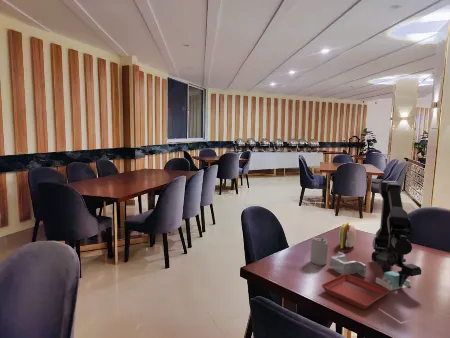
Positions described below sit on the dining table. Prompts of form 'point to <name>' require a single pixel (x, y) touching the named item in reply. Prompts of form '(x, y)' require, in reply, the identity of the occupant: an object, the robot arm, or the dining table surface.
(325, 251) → the can
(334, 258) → the bracket
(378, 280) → the white flat channel piece
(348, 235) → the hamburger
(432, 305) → the dining table surface
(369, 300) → the plant saucer
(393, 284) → the plug
